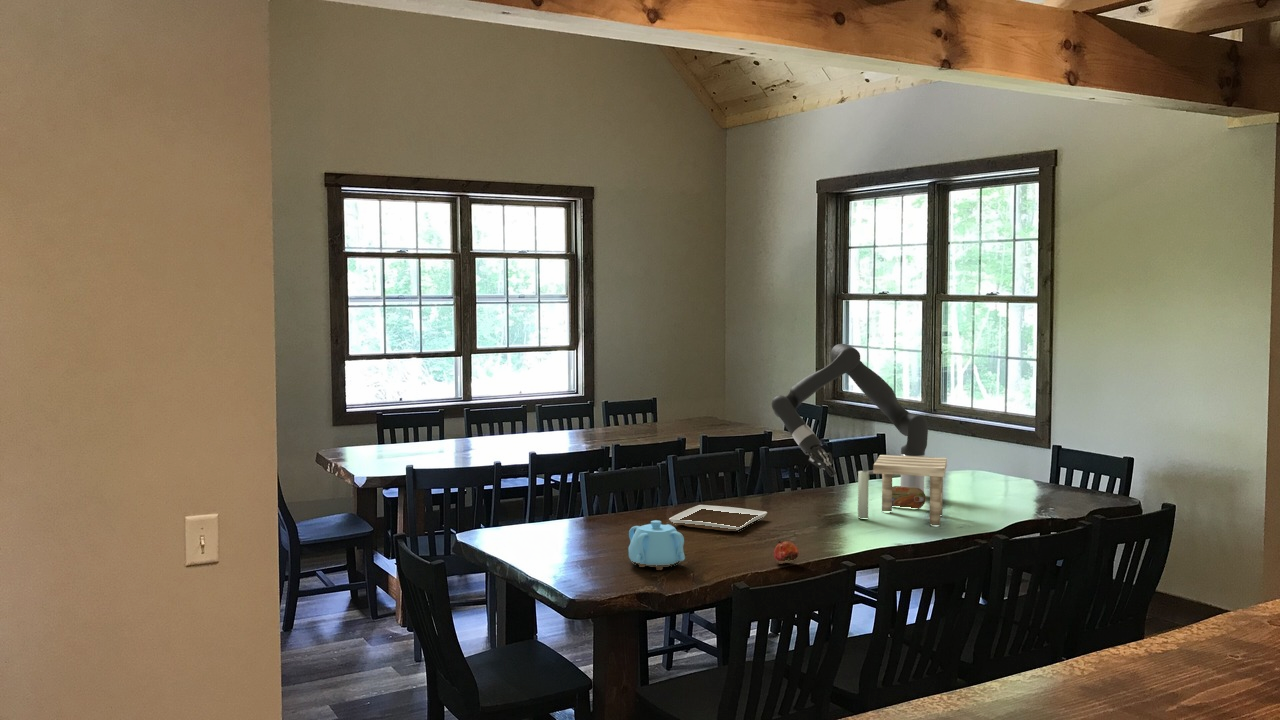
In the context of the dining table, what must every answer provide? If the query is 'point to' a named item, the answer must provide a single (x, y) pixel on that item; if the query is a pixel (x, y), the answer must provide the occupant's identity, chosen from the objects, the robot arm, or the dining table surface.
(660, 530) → the decorative pot
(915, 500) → the tin
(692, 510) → the square plate
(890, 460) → the stool
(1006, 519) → the dining table surface
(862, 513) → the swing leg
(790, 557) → the pomegranate
